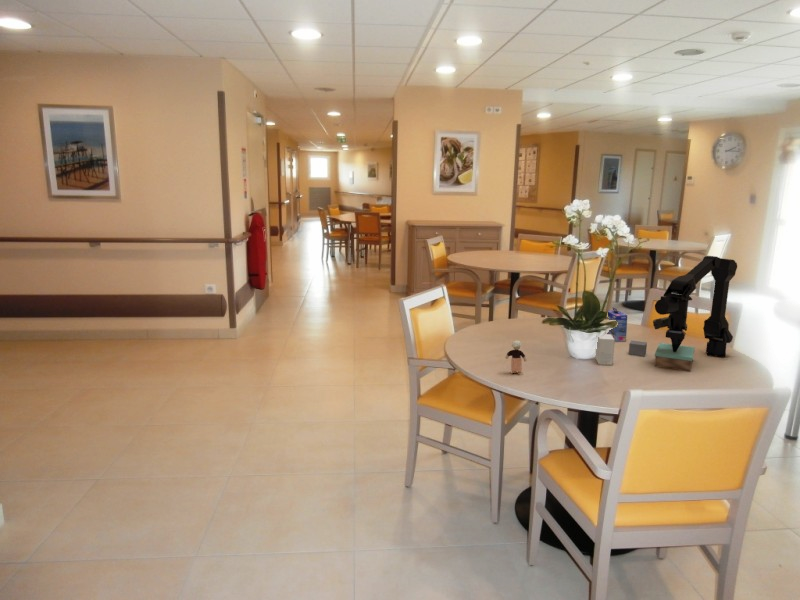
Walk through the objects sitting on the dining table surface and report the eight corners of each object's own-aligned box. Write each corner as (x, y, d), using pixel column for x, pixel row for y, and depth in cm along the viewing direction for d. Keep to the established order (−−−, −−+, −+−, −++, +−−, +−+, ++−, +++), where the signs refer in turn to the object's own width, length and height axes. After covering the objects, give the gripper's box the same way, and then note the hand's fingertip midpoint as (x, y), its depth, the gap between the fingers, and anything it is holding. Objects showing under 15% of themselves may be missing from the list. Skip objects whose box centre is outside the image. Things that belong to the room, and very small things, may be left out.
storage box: (692, 359, 212) (693, 350, 211) (689, 371, 198) (691, 361, 198) (659, 355, 218) (660, 345, 217) (654, 366, 204) (655, 356, 204)
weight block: (645, 353, 220) (646, 342, 219) (644, 357, 216) (645, 345, 215) (630, 351, 223) (631, 340, 222) (628, 354, 219) (629, 343, 218)
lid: (694, 350, 211) (694, 347, 210) (691, 361, 197) (692, 357, 197) (659, 345, 217) (659, 342, 217) (654, 355, 203) (655, 352, 203)
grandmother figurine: (525, 371, 200) (526, 339, 197) (526, 375, 196) (527, 342, 193) (504, 370, 201) (505, 338, 198) (505, 374, 197) (506, 341, 195)
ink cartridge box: (604, 335, 247) (606, 305, 244) (615, 335, 247) (618, 305, 244) (614, 341, 237) (617, 310, 234) (626, 341, 238) (628, 310, 235)
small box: (613, 365, 206) (615, 339, 204) (598, 364, 207) (599, 338, 205) (609, 359, 214) (611, 333, 211) (594, 358, 215) (596, 333, 213)
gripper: (658, 305, 214) (654, 343, 217) (652, 314, 198) (648, 354, 201) (689, 308, 208) (685, 347, 211) (686, 317, 193) (681, 358, 195)
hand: (674, 351), depth 205 cm, fingers closed, pressing on lid
